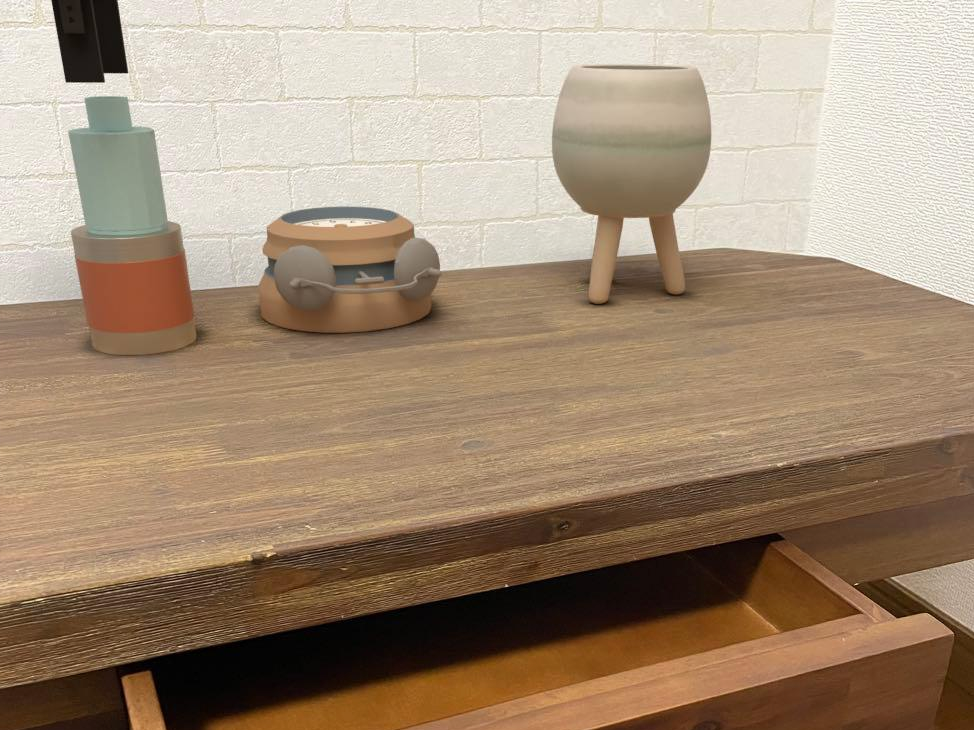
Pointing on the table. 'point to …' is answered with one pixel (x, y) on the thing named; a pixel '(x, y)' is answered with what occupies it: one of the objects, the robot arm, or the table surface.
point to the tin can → (135, 291)
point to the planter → (632, 155)
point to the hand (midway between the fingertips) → (99, 78)
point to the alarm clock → (346, 271)
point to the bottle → (117, 171)
